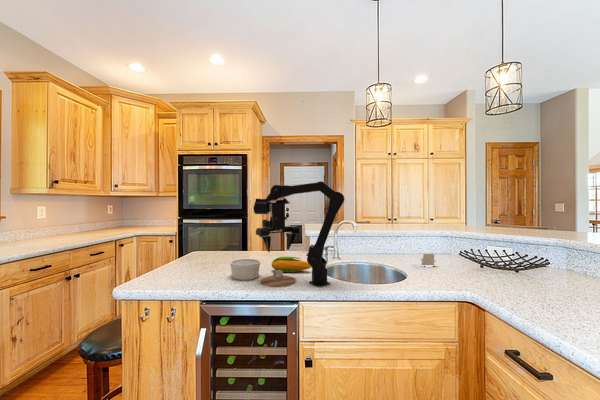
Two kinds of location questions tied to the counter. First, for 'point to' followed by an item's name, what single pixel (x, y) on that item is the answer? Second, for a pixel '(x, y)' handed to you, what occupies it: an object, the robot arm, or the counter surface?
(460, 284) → the counter surface
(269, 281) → the lid
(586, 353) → the counter surface
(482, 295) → the counter surface
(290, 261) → the corn
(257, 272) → the ramekin
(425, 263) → the architectural model
